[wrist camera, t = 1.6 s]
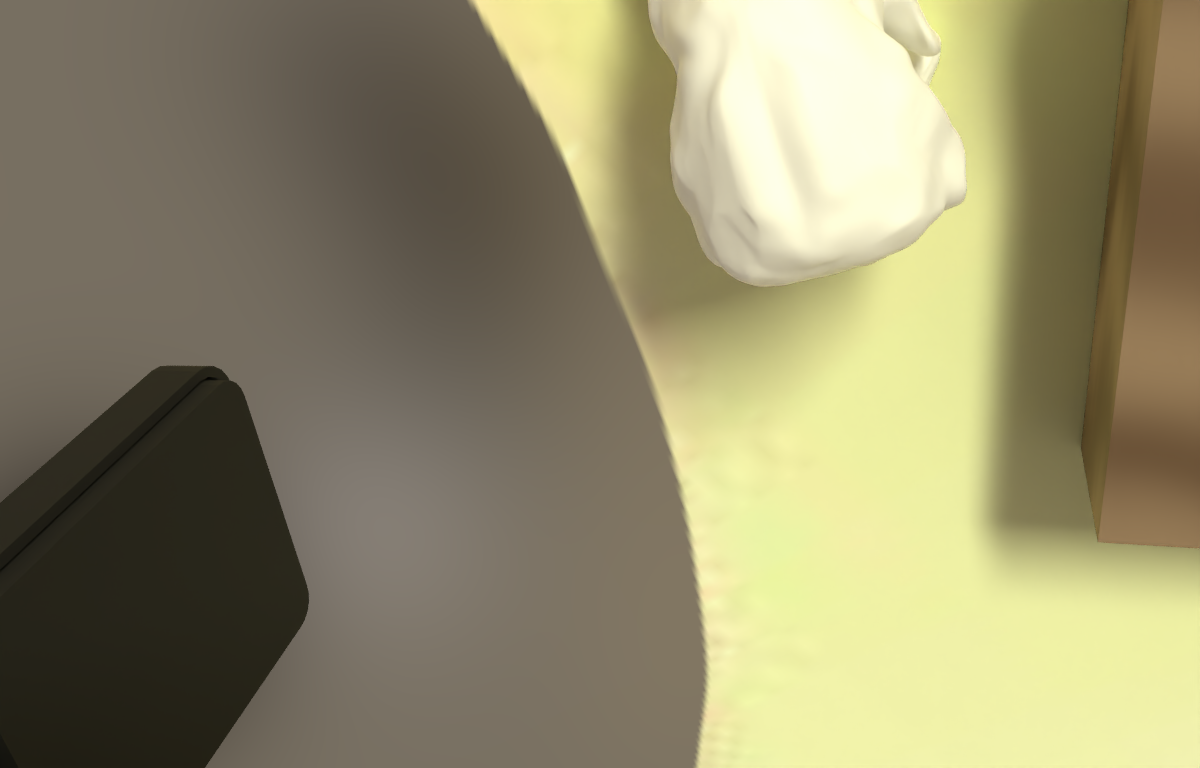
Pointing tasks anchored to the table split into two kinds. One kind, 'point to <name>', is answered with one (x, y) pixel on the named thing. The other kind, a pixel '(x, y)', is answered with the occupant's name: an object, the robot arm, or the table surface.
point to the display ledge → (1150, 293)
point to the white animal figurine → (806, 132)
